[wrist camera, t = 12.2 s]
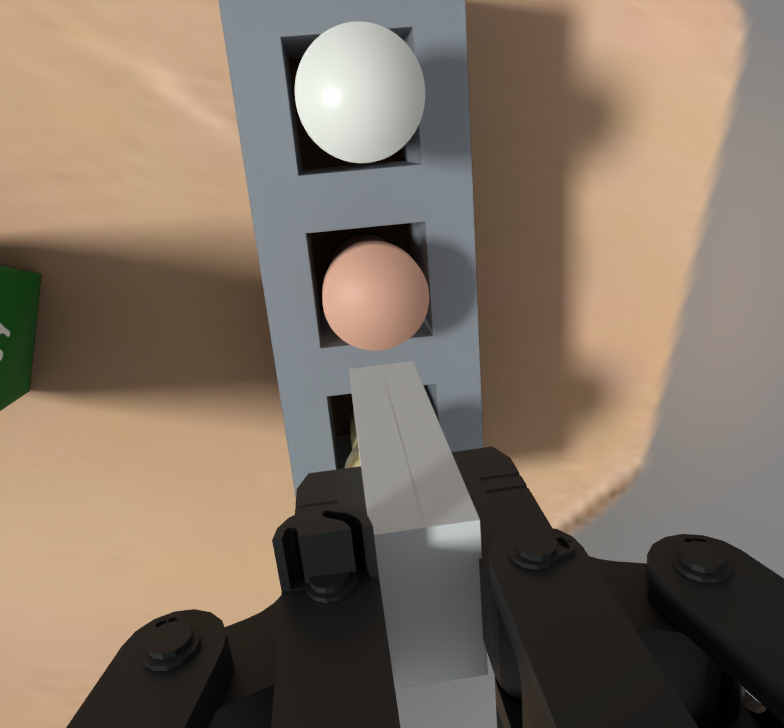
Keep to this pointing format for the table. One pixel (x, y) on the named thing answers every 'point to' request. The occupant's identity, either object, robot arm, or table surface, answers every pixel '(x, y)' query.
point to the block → (359, 215)
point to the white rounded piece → (360, 92)
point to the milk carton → (17, 331)
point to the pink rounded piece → (374, 294)
